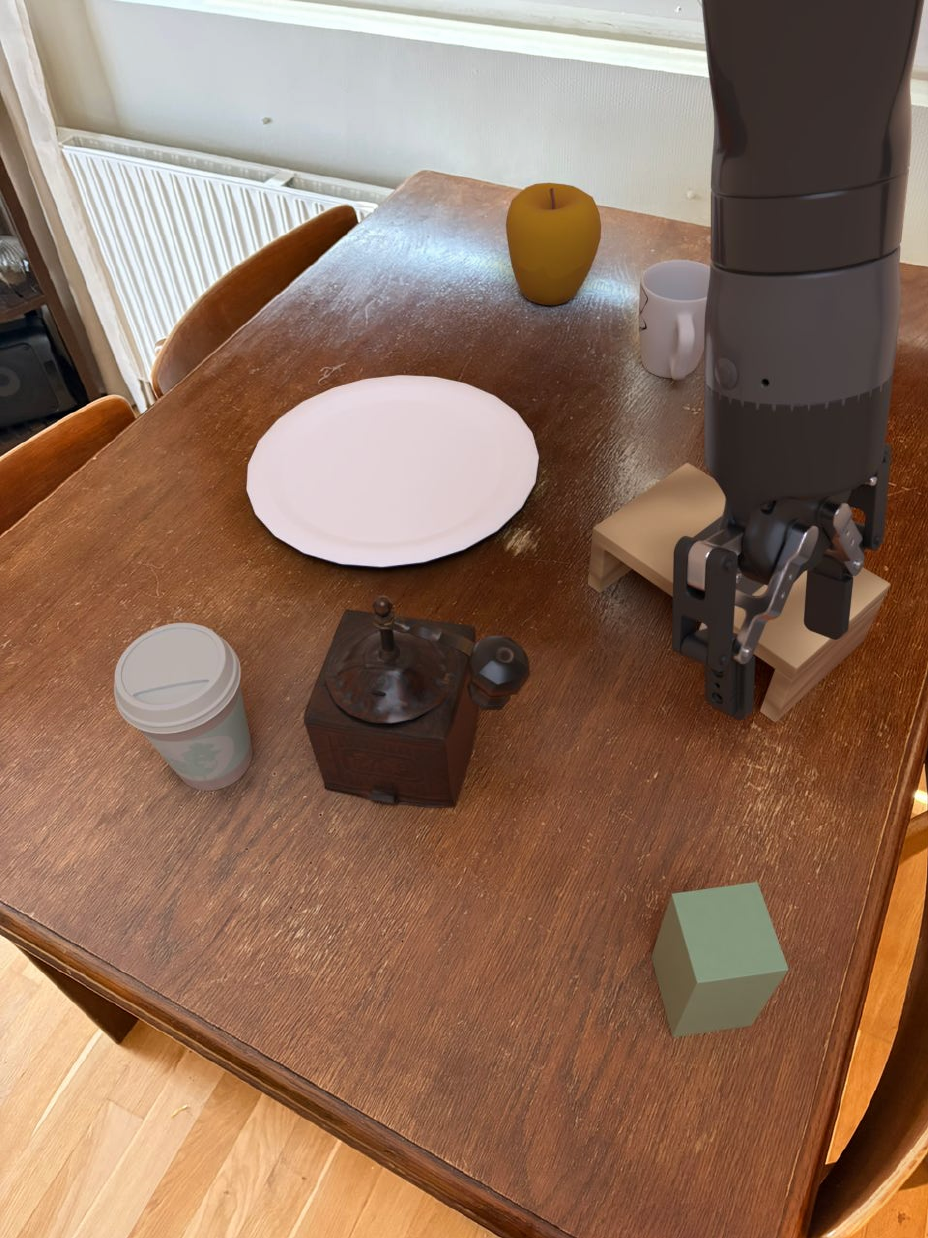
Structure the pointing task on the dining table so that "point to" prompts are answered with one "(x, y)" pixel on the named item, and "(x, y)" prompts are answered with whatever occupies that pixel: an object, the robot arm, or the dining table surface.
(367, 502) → the plate
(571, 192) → the apple
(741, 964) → the green carton
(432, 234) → the dining table surface
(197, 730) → the coffee cup
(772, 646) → the shelf
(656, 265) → the mug
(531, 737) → the dining table surface
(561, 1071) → the dining table surface
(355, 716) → the coffee grinder
